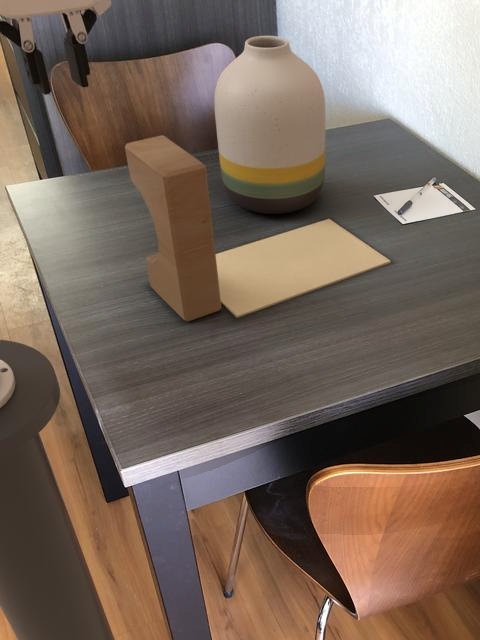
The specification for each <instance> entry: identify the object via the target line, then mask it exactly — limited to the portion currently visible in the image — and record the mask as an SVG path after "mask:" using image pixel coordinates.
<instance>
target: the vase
mask: <svg viewBox="0 0 480 640" xmlns="http://www.w3.org/2000/svg"><path fill="white" fill-rule="evenodd" d="M325 98H326V97H325V92H324V89H323V85H322V82H321V80H320V78H319V76H318V74H317V72H316V71H315V70H314V69H313V67H311V66H310V64H308V62H306V61H304V60H303V59H302V58H300V57H299V56H298V55H297V54H295V53H294V51H292V48H291V45H290V41H289V40H288V39H287V38H284V37H282V36H277V35H258V36H252V37H250V38H248V39H246V40H245V42H244V49H243V51H242V52H241V53H240V54H239V55H238V56H237V57H236V58H235V59H233V60H232V61H231V62H230V63H229V64H228V65H227V66H226V67H225V68H224V69H223V71H222V72H221V73H220V75H219V77H218V79H217V83H216V86H215V89H214V100H213V103H214V104H213V105H214V106H213V107H214V119H215V127H216V128H215V129H216V137H217V148H218V156H219V165H220V174H221V180H222V184H223V186H224V189H225V192H227V195H228V196H229V198H230V199H231V200H232V201H233V202H234V204H236V205H237V206H239V207H240V208H242V209H245V210H247V211H249V212H253V213H258V214H264V215H282V214H288V213H293V212H297V211H300V210H302V209H305V208H306V207H308V206H309V205H311V204H313V202H315V201H316V200H317V198H318V197H319V195H320V193H321V191H322V188H323V185H324V181H325V173H326V99H325Z"/></svg>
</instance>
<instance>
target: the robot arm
mask: <svg viewBox="0 0 480 640" xmlns="http://www.w3.org/2000/svg"><path fill="white" fill-rule="evenodd" d="M112 4H113V2H112V0H0V16H2V17H4V18H7V19H9V21H10V23H9V21H7V20H5V19H4V18H1V17H0V35H3V36H4V37H5V38H7V39H8V40H9V41H11V42H12V43H13V44H14V45H16V46H17V47H19V50H20V54H21V58H22V61H23V66H24V69H25V72H26V77H27V79H28V82H29V84H30V85H32V86H34V87H35V88H36V89H37V90H38V91H39V92H40V93H42V95H44V96H47V95H51V93H52V88H51V84H50V81H49V80H50V79H49V76H48V72H47V67H46V63H45V59H44V55H43V52H42V51H41V50H39V49H38V46H37V43H36V42H35V37H34V30H33V22H32V18H37V17H46V16H52V15H58V14H59V15H60V17H61V19H62V23H63V26H64V28H65V37H64V40H63V47H64V51H65V55H66V60H67V66H68V69H69V74H70V78H71V80H72V81H73V82H74V83H76V84H77V85H78V86H80V87H82V88H88V87H90V86H89V79H88V76H90V75H91V69H90V64H89V63H90V62H89V59H88V54H87V49H86V45H85V44H86V43H87V42H88V39H89V37H88V35H89V34H90V33H91V31H92V30H93V27H94V26H95V24H96V22H97V20H98V18H100V17H101V16H102V15H104V14H105V12H106V11H108V10H109V9H110V8H111V7H112ZM15 385H16V383H15V377H14V374H13V372H12V369H11V368H10V367H9V365H8V364H6V363H5V362H4V361H2V360H0V408H1V407H2V406H3V405H5V404H6V402H7V401H8V400H9V399H10V397H11V396H12V394H13V392H14V390H15Z"/></svg>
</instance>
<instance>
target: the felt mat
mask: <svg viewBox="0 0 480 640" xmlns="http://www.w3.org/2000/svg"><path fill="white" fill-rule="evenodd" d="M215 254H216V263H217V272H218V281H219V290H220V299H221V305H222V306H224V307H225V308H226V309H227V310H228V311H229V312H230V313H231V314H232V315H233V316H234V317H235V318H236V319H237V318H241V317H243V316H246V315H249V314H251V313H255V312H257V311H260V310H262V309H266V308H268V307H271V306H275V305H277V304H281V303H282V302H285V301H288V300H291V299H293V298H296V297H299V296H303V295H305V294H308V293H310V292H314V291H316V290H319V289H321V288H324V287H327V286H330V285H333V284H335V283H338V282H341V281H344V280H346V279H349V278H352V277H355V276H358V275H360V274H363V273H366V272H368V271H371V270H375V269H377V268H380V267H383V266H385V265H388V264H391V260H390V259H389V258H387V257H386V256H384V255H383V254H381V253H380V252H378V251H377V250H375V249H374V248H373V247H371V246H369V245H368V244H366V242H364V241H362V240H361V239H360V238H358V237H357V236H355V235H354V234H353V233H351V232H349V231H348V230H347V229H345V228H343V227H342V226H340V225H339V224H337V223H336V222H335V221H333V220H332V219H330V218H327V219H324V220H321V221H316V222H315V223H314V222H313V223H311V224H308V225H304V226H301V227H298V228H295V229H292V230H289V231H285V232H282V233H279V234H276V235H272V236H270V237H266V238H262V239H259V240H256V241H253V242H250V243H247V244H244V245H240V246H237V247H233V248H232V249H227V250H224V251H221V252H218V253H215Z"/></svg>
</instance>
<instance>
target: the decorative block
mask: <svg viewBox="0 0 480 640" xmlns="http://www.w3.org/2000/svg"><path fill="white" fill-rule="evenodd" d="M124 150H125V156H126V161H127V166H128V173H129V178H130V181H131V182H132V184H133V185H134V186H135V187H136V189H137V190H138V192H139V193H140V195H141V197H142V199H143V201H144V202H145V205H146V207H147V209H148V212H149V215H150V217H151V220H152V222H153V224H154V229H155V234H156V237H157V247H158V252H157V253H154V254H151V255H147V256H146V257H145V264H146V265H145V266H146V269H147V275H148V281H149V286H150V288H152V290H153V291H154V292H155V293H156V294H157V295H158V296H159V297H160V298H161V299H162V300H163V301H164V302H165V303H166V304H167V305H168V307H170V308H171V309H172V310H173V311H174V312H175V313H176V314H177V315H178V316H179V317H180V318H181V319H182V320H183V321H184V322H186V323H189V322H191V321H194V320H197V319H200V318H203V317H206V316H208V315H211V314H214V313H217V312H220V311H221V310H222V303H221V299H220V290H219V281H218V272H217V263H216V254H217V253H216V247H215V237H214V236H215V235H214V228H213V217H212V209H211V200H210V192H209V191H210V190H209V183H208V174H207V165H205V164H204V163H202V161H200V160H199V159H198V158H196V157H194V156H193V155H192V154H190V153H189V152H187V151H186V150H185V149H184V148H182V147H181V146H179V145H178V144H176V143H175V142H173V141H172V140H170V139H169V138H168V137H167V136H165V135H164V134H161V135H157V136H152V137H148V138H144V139H140V140H135V141H131V142H127V143H126V144H125V146H124Z"/></svg>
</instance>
